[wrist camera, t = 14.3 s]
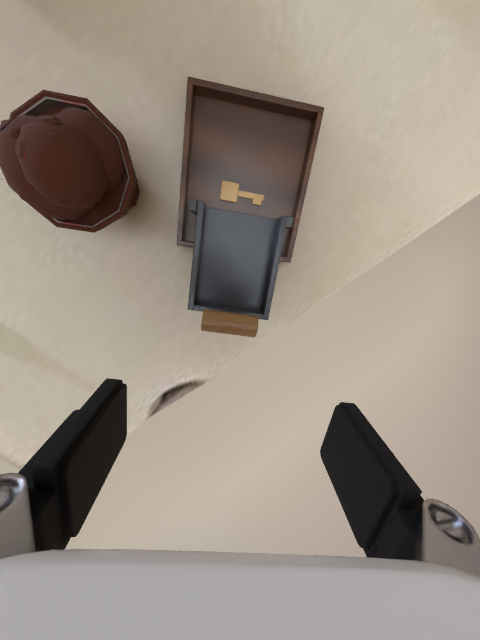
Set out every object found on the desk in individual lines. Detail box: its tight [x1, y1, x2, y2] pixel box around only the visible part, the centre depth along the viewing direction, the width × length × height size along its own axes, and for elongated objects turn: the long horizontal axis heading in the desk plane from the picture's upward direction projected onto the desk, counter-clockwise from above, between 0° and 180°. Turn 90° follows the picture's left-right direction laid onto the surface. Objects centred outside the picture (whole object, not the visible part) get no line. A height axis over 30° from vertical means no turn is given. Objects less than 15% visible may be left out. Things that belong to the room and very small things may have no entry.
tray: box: [177, 77, 324, 263], centre depth 28 cm, size 17×15×7 cm
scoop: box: [188, 201, 287, 337], centre depth 24 cm, size 12×9×8 cm
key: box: [220, 180, 264, 206], centre depth 30 cm, size 6×2×1 cm, turn 81°
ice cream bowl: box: [0, 90, 140, 232], centre depth 23 cm, size 11×11×15 cm
